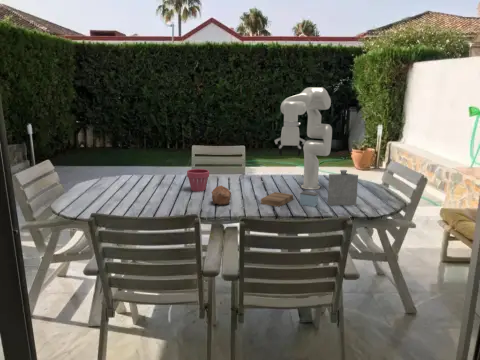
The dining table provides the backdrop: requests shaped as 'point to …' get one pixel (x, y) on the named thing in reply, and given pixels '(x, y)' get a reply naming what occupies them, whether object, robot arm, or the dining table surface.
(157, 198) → the dining table surface
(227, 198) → the decorative rock
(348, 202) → the hip flask
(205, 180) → the plant pot
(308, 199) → the block
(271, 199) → the stand
